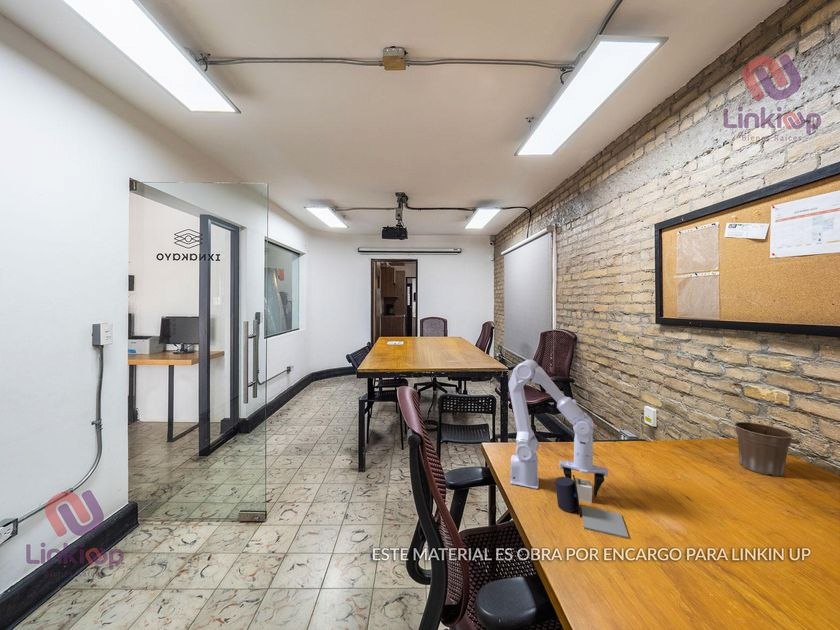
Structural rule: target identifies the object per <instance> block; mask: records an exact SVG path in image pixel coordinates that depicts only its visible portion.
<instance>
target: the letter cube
mask: <svg viewBox="0 0 840 630" xmlns="http://www.w3.org/2000/svg"><path fill="white" fill-rule="evenodd" d="M575 480H576V485H577V492H578V498H579V500H580V501H581V502H584V501H585V502H586V503H589V502H590V504H592V502H593V486H592V482H591V480H589V479H584V478H577V477H575ZM580 501H579V502H580Z"/></svg>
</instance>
